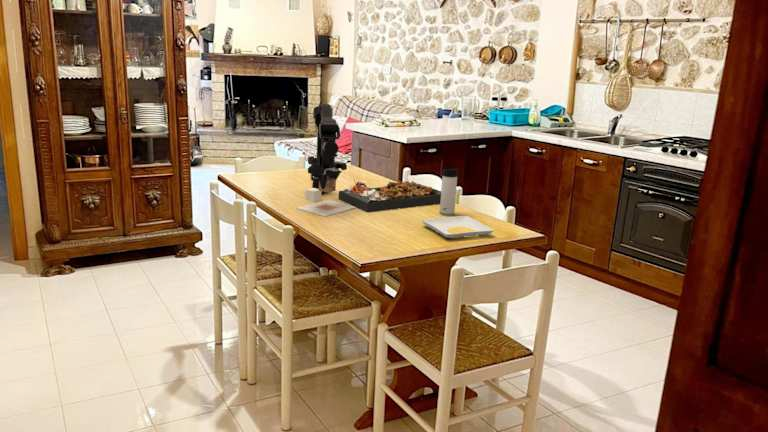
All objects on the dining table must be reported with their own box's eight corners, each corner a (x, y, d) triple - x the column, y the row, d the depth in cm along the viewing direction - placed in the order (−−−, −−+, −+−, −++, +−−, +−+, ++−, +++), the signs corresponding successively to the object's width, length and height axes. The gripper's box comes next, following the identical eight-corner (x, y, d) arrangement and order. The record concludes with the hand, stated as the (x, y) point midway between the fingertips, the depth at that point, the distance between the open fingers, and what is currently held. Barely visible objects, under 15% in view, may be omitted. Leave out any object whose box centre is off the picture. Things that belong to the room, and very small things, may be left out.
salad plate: (445, 242, 228) (446, 233, 227) (419, 226, 247) (420, 218, 246) (494, 238, 237) (495, 229, 236) (465, 223, 255) (466, 215, 254)
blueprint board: (327, 201, 277) (327, 199, 277) (356, 208, 268) (356, 206, 268) (296, 209, 262) (296, 207, 261) (325, 216, 253) (325, 215, 252)
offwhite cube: (312, 198, 282) (313, 187, 280) (321, 200, 279) (321, 189, 278) (305, 200, 278) (305, 189, 276) (313, 202, 275) (313, 191, 274)
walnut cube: (326, 188, 266) (326, 177, 265) (335, 190, 263) (335, 179, 262) (318, 190, 262) (318, 178, 261) (327, 192, 260) (328, 180, 258)
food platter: (366, 213, 263) (368, 189, 260) (338, 200, 283) (339, 178, 280) (449, 204, 287) (451, 182, 285) (418, 192, 307) (419, 171, 304)
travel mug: (445, 216, 262) (448, 170, 257) (436, 212, 268) (440, 167, 263) (457, 215, 265) (461, 169, 260) (449, 211, 271) (452, 166, 265)
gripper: (328, 146, 270) (327, 181, 275) (298, 151, 256) (297, 188, 260) (348, 150, 264) (346, 186, 268) (318, 154, 249) (317, 192, 254)
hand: (327, 188), depth 263 cm, fingers closed on walnut cube, 5 cm apart
